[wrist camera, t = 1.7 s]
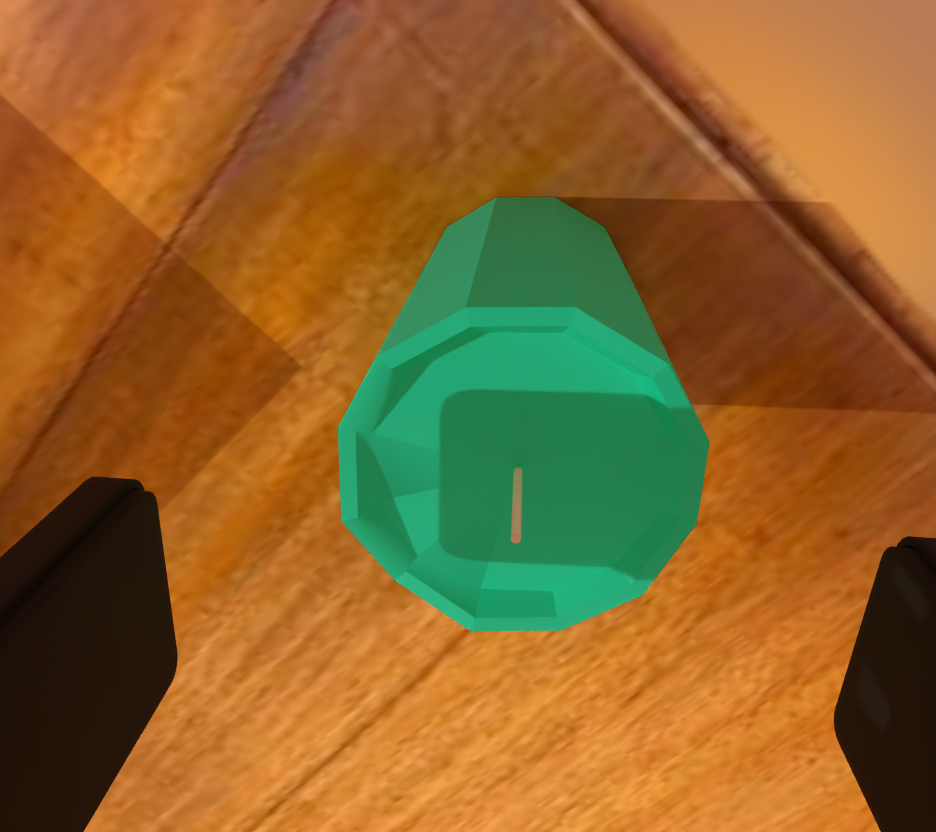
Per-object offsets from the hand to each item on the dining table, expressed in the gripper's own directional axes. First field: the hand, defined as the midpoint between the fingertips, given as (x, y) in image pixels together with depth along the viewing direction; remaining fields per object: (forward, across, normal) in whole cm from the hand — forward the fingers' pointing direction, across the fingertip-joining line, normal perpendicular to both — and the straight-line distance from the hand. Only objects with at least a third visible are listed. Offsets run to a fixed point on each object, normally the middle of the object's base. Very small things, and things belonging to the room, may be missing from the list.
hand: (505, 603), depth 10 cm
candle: (+13, 0, -1) cm, 13 cm away
